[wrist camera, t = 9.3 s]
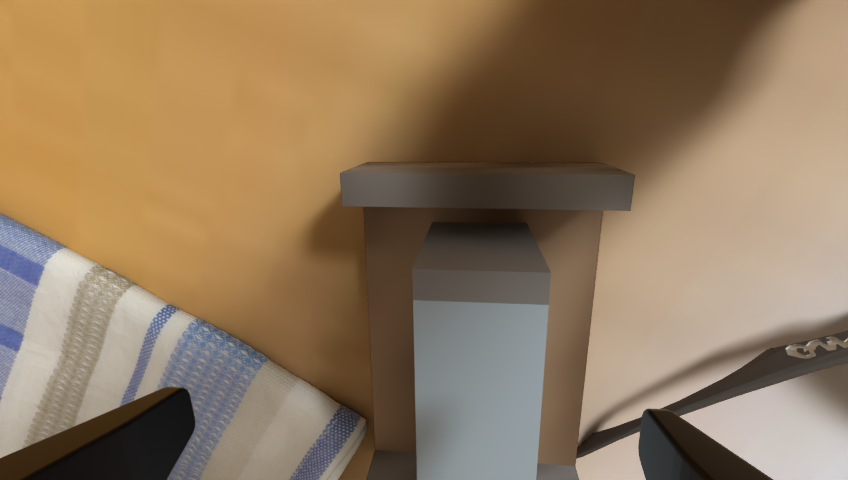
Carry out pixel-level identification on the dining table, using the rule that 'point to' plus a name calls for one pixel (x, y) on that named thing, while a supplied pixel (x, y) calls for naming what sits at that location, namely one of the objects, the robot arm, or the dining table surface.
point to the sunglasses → (743, 381)
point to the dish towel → (150, 371)
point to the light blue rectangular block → (479, 351)
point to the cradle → (481, 203)
